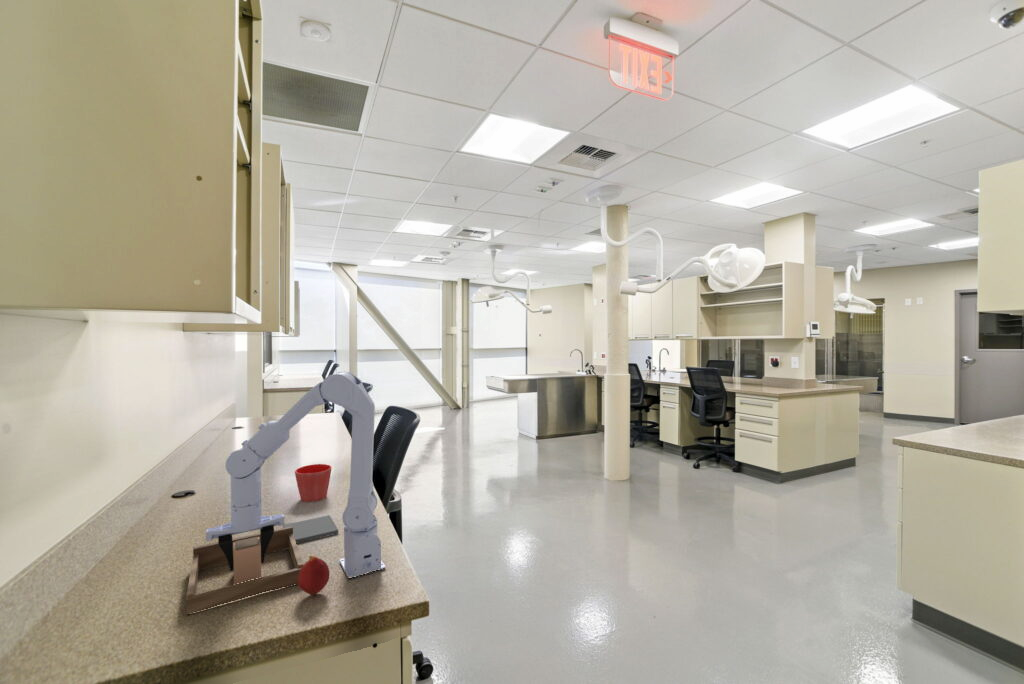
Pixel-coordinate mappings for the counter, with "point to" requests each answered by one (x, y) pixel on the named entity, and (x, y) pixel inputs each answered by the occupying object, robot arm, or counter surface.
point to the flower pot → (313, 481)
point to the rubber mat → (313, 528)
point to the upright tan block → (247, 559)
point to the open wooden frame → (215, 557)
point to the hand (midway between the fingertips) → (247, 564)
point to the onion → (313, 575)
